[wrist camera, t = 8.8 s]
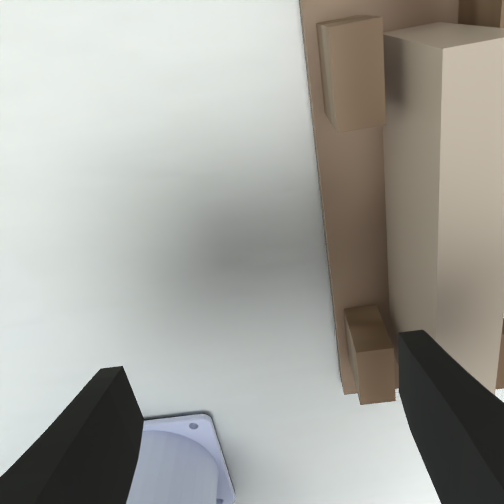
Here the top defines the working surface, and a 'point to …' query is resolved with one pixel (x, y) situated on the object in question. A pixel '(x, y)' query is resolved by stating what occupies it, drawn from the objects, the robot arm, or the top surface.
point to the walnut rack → (364, 168)
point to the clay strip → (446, 189)
